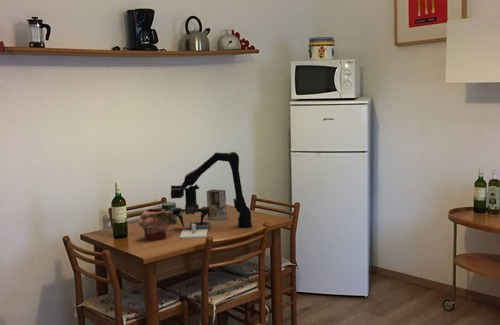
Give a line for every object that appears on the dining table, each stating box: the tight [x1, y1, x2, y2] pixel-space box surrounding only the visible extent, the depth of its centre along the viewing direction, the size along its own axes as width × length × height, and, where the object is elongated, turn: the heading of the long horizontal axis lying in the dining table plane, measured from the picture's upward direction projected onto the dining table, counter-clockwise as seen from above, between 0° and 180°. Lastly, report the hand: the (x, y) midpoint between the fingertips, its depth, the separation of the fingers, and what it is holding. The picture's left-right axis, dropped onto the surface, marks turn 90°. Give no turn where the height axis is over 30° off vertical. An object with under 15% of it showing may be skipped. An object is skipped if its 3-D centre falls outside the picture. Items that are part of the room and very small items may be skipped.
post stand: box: [179, 224, 209, 239], centre depth 277 cm, size 13×13×6 cm
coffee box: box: [206, 188, 227, 221], centre depth 311 cm, size 9×6×16 cm
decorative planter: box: [138, 208, 174, 241], centre depth 275 cm, size 20×12×14 cm, turn 137°
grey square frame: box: [189, 220, 211, 231], centre depth 290 cm, size 10×10×2 cm
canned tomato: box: [161, 201, 178, 225], centre depth 305 cm, size 8×8×11 cm
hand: (192, 226), depth 290 cm, fingers open, 9 cm apart
